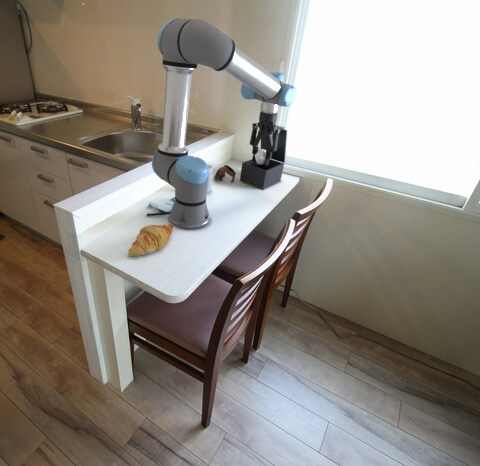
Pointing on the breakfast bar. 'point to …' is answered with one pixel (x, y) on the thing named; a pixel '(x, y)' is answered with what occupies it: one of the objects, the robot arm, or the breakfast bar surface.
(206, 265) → the breakfast bar surface
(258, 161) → the muffin
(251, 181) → the open cubby box
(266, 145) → the lid
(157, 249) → the croissant
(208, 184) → the beverage can
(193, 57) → the robot arm
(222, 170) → the broken terracotta ring
